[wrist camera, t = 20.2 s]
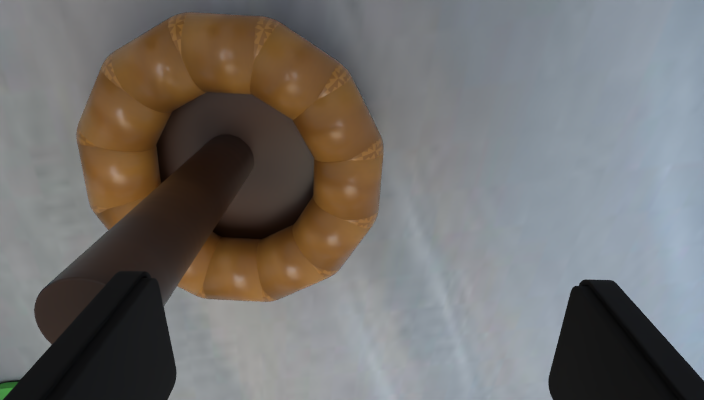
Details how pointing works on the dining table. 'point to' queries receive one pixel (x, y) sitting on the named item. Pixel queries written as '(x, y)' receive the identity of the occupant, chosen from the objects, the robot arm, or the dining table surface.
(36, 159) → the dining table surface
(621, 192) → the dining table surface
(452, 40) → the dining table surface
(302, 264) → the ring
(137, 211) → the post
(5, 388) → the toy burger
